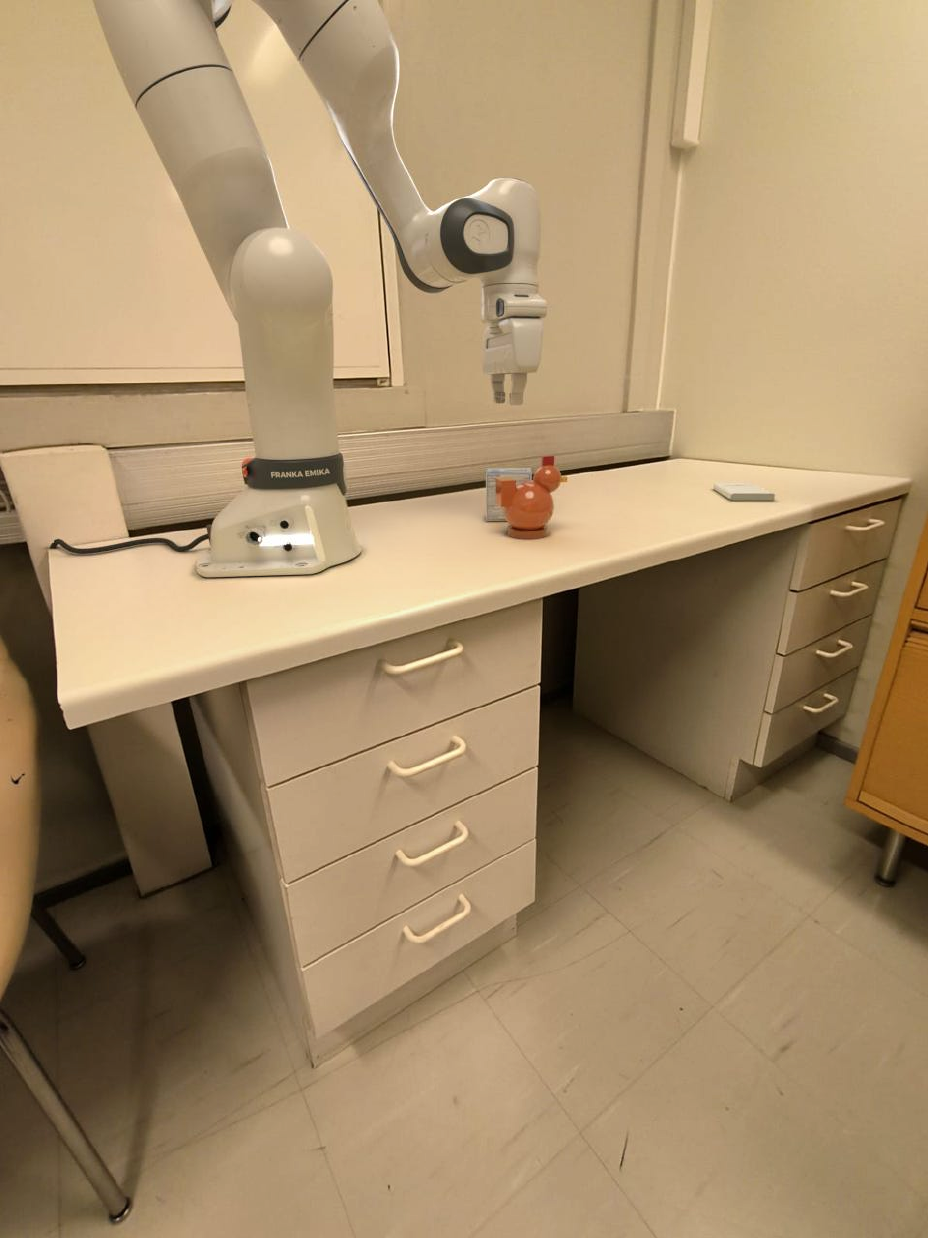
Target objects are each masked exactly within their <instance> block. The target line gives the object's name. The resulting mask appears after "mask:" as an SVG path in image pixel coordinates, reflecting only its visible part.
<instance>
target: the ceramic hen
mask: <svg viewBox="0 0 928 1238" xmlns="http://www.w3.org/2000/svg"><path fill="white" fill-rule="evenodd" d="M562 483H568V476H566V475H562V473H561V472H560V469H559V468H558V467H556V466H555V455H554V454H553V455H541V464H540V466H539V467H537V469H536V470H535V471H534V473H533V475H532V481H524V482H520V483H518V484H516V480H515V479H513V478H511V477H500V478H496V489H495V503H496V504H498V505H499V506H500V507H503V511H504V515H505V518H506V520H507V521H506V522H507V523H508V524H509V525H508V526H507V535H508V536H509V537H511V538H514V539H521V540H536V539H542V538H545V537H547V536H548V534H549V526H548V523H549V522H550V520H551V519H552V517H553V514H554V510H555V503H554V499H553V496H552V494H551V493H553V492H556V490H558V489H559V487H560V485H561V484H562Z"/></svg>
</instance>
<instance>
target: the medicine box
mask: <svg viewBox="0 0 928 1238" xmlns="http://www.w3.org/2000/svg"><path fill="white" fill-rule="evenodd" d="M500 477H511V478H513V479H515V480H516V484H518V483H520V482H524V481H533V472H532V468H531V467H495V468H493V467H491V468H489V467H488V468H487V470H486V472H485V520H486V522H508V521H507V520H506V518H505V515H504V511H503V507H500V506H499V505H498V504H496V503H495V489H496V478H500Z"/></svg>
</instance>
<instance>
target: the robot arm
mask: <svg viewBox="0 0 928 1238" xmlns="http://www.w3.org/2000/svg"><path fill="white" fill-rule="evenodd" d="M234 1H235V0H92V3H93V6H94V9H95V12H96V15H97V18H98V21H99V24H100V27H101V31H102V32H103V35H104V38H105V41H106V43H107V46H108V49H109V52H110V54H111V57H112V59H113V61H114V65H115V67H116V69H117V71H118V73H119V76H120V79H121V81H122V83H123V85H124V88H125V89H126V92H127V94H128V96H129V98H130V100H131V102H132V104H133V107H134V109H135V110H136V113H137V114H138V117H139V118H140V121H141V123H142V125H143V127H144V129H145V131H146V133H147V136H148V137H149V139H150V142H151V143H152V145H153V147H154V150H155V151H156V153H157V155H158V157H159V159H160V161H161V163H162V166H163V167H164V169H165V172H166V173H167V175H168V177H169V179H170V181H171V183H172V186H173V187H174V189H175V192H176V193H177V196H178V198H179V200H180V202H181V204H182V207H183V209H184V211H185V213H186V215H187V218H188V220H189V222H190V225H191V227H192V229H193V232H194V234H195V237H196V239H197V241H198V243H199V245H200V248H201V249H202V252H203V253H204V257H205V258H206V261H207V263H208V265H209V267H210V270H211V271H212V274H213V277H214V278H215V280H216V282H217V286H218V287H219V289H220V291H221V293H222V295H223V298H224V300H225V302H226V304H227V307H228V309H229V311H230V313H231V315H232V316H233V318H234V320H235V322H236V323H237V328H238V335H239V344H240V350H241V360H242V361H241V362H242V367H243V368H242V369H243V378H244V387H245V398H246V402H247V408H248V416H249V421H250V428H251V435H252V440H253V445H254V452H255V457H246V458H245V459H244V460H243V461H242V462H241V472H242V479H243V483H244V485H246V487H245V488H243V490H242V491H240V493H238V494H237V495H236V496H235V497H234V498H233V499H232V500H230V502H229V503H228V504H226V506H225V507H224V508H223V509H222V510H221V511H220V512H219V513H218V514H217V515H216V516H215V517H214V519H213V521H212V522H211V523H212V524H207V525H205V528H206V532H207V533H205V534H203V535H200V536H198V537H197V538H195V539H194V540H193V541H192V542H190V543H189V544H186V545H181V546H180V545H177V544H176V543H175V542H174V541H173V540H171V539H169V538H165V537H147V538H141V539H134V540H129V541H124V542H119V543H115V544H108V545H104V546H96V547H89V548H87V547H86V548H85V547H84V548H79V547H74V546H71V545H70V544H68V543H67V542H65V541H64V540H63V539H60V538H56V539H54V540H53V541H54V543H52V542H51V544H50V546H49V549H50V550H55V549H57V548H58V546H60V547H61V548H62V549H64V550H65V551H67V552H70V553H72V554H75V555H76V554H77V555H91V554H92V555H93V554H100V553H106V552H110V551H115V550H116V551H117V550H120V549H125V548H130V547H136V546H141V545H147V544H166V545H168V546H169V547H170V548H171V549H172V550H173V551H175V552H178V553H179V552H180V553H183V552H187V551H190V550H193V549H194V548H195V547H197V546H198V545H199V544H201V543H202V542H204V541H207V540H208V543H209V546H210V548H208V549H206V550H204V552H202V553H201V554H200V555H199V557H198V558H197V560H196V564H195V565H196V572H197V574H199V576H201V577H204V578H226V577H227V578H228V577H230V578H231V577H255V576H256V577H259V576H260V577H261V576H263V577H264V576H290V575H291V576H293V575H295V576H296V575H313V574H317V573H320V572H322V571H324V570H326V569H328V568H330V567H333V566H337V565H339V564H342V563H345V562H347V561H350V560H353V559H354V558H356V557H358V556H359V555H360V554H361V552H362V548H361V546H360V543H359V542H358V539H357V535H356V533H355V530H354V526H353V522H352V519H351V515H350V511H349V505H348V503H347V496H346V494H347V490H348V483H347V481H348V480H347V471H346V470H347V469H346V464H345V460H344V456H343V453H342V452H340V443H339V435H338V425H337V416H336V406H335V394H334V393H335V391H334V369H335V367H334V365H335V364H334V362H335V360H334V359H335V357H334V356H335V355H334V354H335V350H334V349H335V347H334V346H335V343H334V342H335V341H334V340H335V337H334V336H335V335H334V334H335V333H334V332H335V331H334V307H333V306H334V305H333V302H334V281H333V273H332V271H331V267H330V265H329V262H328V260H327V258H326V257H325V255H324V253H323V251H322V250H321V249H320V248H319V247H318V246H317V244H315V242H314V241H312V240H311V239H310V238H309V237H308V236H306V235H304V234H303V233H301V232H299V231H298V230H297V231H296V230H295V229H290V225H289V222H288V220H287V216H286V213H285V208H284V205H283V203H282V200H281V197H280V193H279V189H278V185H277V182H276V178H275V172H274V168H273V165H272V162H271V159H270V157H269V154H268V152H267V149H266V147H265V145H264V142H263V140H262V137H261V134H260V132H259V131H258V128H257V125H256V123H255V120H254V118H253V116H252V113H251V111H250V109H249V106H248V103H247V101H246V99H245V97H244V94H243V91H242V89H241V87H240V85H239V82H238V79H237V78H236V75H235V72H234V70H233V68H232V65H231V63H230V61H229V58H228V56H227V54H226V52H225V49H224V48H223V46H222V43H221V42H220V39H219V35H218V31H217V30H218V28H219V27H220V26H221V25H222V24H223V23H224V21H226V20H227V18H228V16H229V14H230V12H231V10H232V6H233V3H234ZM251 1H252V2H253V3H255V4H256V5H257V6H258V7H259V8H261V9H262V10H263V11H264V12H265V13H266V15H267V16H268V17H269V18H270V20H272V21H273V23H274V24H275V25H276V27H277V28H278V30H279V32H280V34H281V36H282V37H283V39H284V41H285V43H286V45H287V46H288V47H289V49H290V51H291V52H292V54H293V56H294V57H295V59H296V60H297V62H298V64H299V66H300V67H301V69H302V70H303V71H304V73H305V75H306V77H307V78H308V80H309V81H310V83H311V85H312V86H313V88H314V90H315V91H316V93H317V95H318V97H319V99H320V101H321V102H322V103H323V106H324V108H325V109H326V111H327V113H328V115H329V116H330V118H331V120H332V122H333V124H334V127H335V129H336V131H337V134H338V136H339V138H340V140H341V143H342V144H343V147H344V149H345V151H346V153H347V155H348V158H349V159H350V161H351V163H352V165H353V167H354V168H355V170H356V172H357V174H358V176H359V178H360V180H361V181H362V183H363V185H364V187H365V189H366V190H367V192H368V194H369V196H370V198H371V199H372V202H373V203H374V204H375V206H376V208H377V210H378V212H379V213H380V216H381V218H382V219H383V221H384V222H385V224H386V226H387V228H388V230H389V232H390V234H391V237H392V240H393V242H394V245H395V248H396V249H395V250H396V252H397V256H398V259H399V262H400V266H401V269H402V272H403V274H404V275H405V277H406V279H408V281H409V282H410V283H411V284H412V285H413V287H415V288H416V289H418V290H420V291H422V292H424V293H427V294H438V293H439V294H440V293H441V292H443V291H446V290H448V289H449V288H451V287H453V286H455V285H459V284H461V283H465V282H467V281H469V280H472V279H474V278H475V279H476V278H477V279H479V280H480V284H481V290H480V291H481V293H480V294H481V295H480V296H481V300H480V301H481V302H480V304H481V305H480V308H481V310H480V314H481V315H480V321H481V323H483V324H488V326H487V327H485V329H484V332H483V339H482V357H481V369H482V374H484V375H486V376H487V375H489V376H490V386H491V389H492V403H494V404H504V403H505V402H506V392H505V383H504V382H505V381H506V380H505V379H506V378H505V377H506V375H510V381H511V388H510V389H511V390H510V392H509V395H508V396H509V401H508V403H509V405H510V406H522V405H523V403H524V392H525V389H526V385H527V382H528V374H532V373H534V374H535V373H537V372H538V369H539V367H540V363H541V358H542V348H543V340H544V322H543V319H545V318H546V317H547V313H548V301H547V300H546V299H545V298H543V297H541V296H540V295H539V293H540V291H539V290H540V289H539V288H540V287H539V285H540V283H539V277H538V264H539V260H540V257H541V241H542V228H541V227H542V226H541V225H542V219H541V207H540V201H539V196H538V194H537V191H536V189H535V188H534V187H533V186H532V185H531V184H530V183H528V182H527V181H525V180H523V179H521V178H518V177H506V176H505V177H504V176H503V177H497V178H494V179H492V180H491V181H489V183H488V184H487V185H485V187H483V188H481V189H480V190H478V191H477V192H475V193H473V194H471V195H468V196H464V197H461V198H456V199H454V200H452V201H450V202H447V203H446V204H444V205H442V206H440V207H439V208H437V209H436V210H434V211H433V210H431V209H430V208H429V207H427V205H426V203H424V201H423V199H422V197H421V195H420V193H419V191H418V189H417V187H416V185H415V183H414V181H413V179H412V177H411V175H410V173H409V172H408V169H407V167H406V165H405V162H404V161H403V159H402V156H401V155H400V153H399V150H398V148H397V145H396V141H395V137H394V136H395V135H394V128H393V127H394V126H393V125H394V124H393V123H394V122H393V121H394V108H395V102H396V97H397V93H398V89H399V88H398V87H399V80H400V55H399V53H400V52H399V50H398V46H397V44H396V40H395V37H394V34H393V32H392V29H391V26H390V23H389V22H388V21H389V20H388V19H387V16H386V14H385V12H384V11H383V8H382V7H381V5H380V3H379V1H378V0H251Z"/></svg>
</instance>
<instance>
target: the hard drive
mask: <svg viewBox="0 0 928 1238" xmlns="http://www.w3.org/2000/svg"><path fill="white" fill-rule="evenodd" d="M712 488H713V490H715V492H717V493H719V494H720V495H721V496H723V497H724V498H727V499H728V500H729V501H732V502H773V501H775V497H776V493H774V492H772V491H769V490H767V489H766V488H764V487H761V486H759V485H757V484H756V483H753V482H714V483H713V487H712Z"/></svg>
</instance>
